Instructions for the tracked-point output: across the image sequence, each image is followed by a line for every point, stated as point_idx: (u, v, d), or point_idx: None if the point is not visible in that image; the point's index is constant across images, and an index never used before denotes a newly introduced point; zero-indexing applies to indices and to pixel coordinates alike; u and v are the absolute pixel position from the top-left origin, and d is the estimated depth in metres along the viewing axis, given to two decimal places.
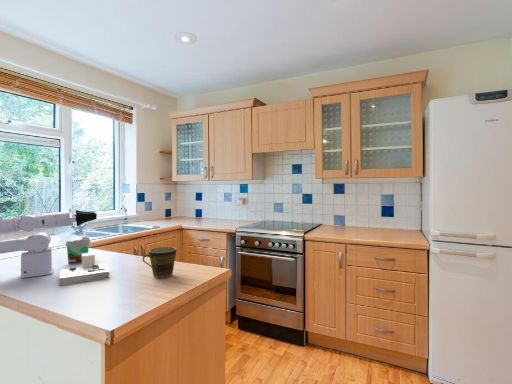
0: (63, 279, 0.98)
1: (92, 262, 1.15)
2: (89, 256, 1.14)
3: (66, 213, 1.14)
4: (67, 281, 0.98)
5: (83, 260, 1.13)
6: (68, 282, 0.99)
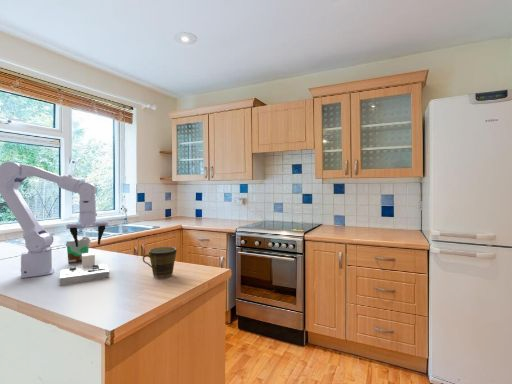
0: (63, 279, 0.98)
1: (92, 262, 1.15)
2: (89, 256, 1.14)
3: (83, 221, 1.13)
4: (67, 281, 0.98)
5: (83, 260, 1.13)
6: (68, 282, 0.99)
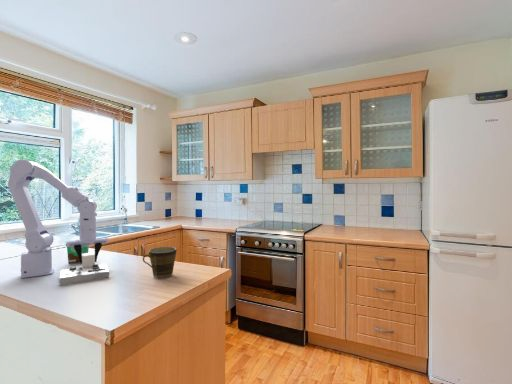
0: (63, 279, 0.98)
1: (92, 262, 1.15)
2: (89, 256, 1.14)
3: (83, 238, 1.13)
4: (67, 281, 0.98)
5: (83, 260, 1.13)
6: (68, 282, 0.99)
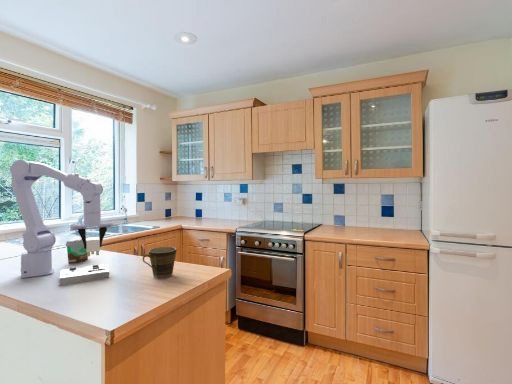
0: (63, 279, 0.98)
1: (97, 246, 1.10)
2: (94, 240, 1.10)
3: (87, 222, 1.09)
4: (67, 281, 0.98)
5: (87, 244, 1.08)
6: (68, 282, 0.99)
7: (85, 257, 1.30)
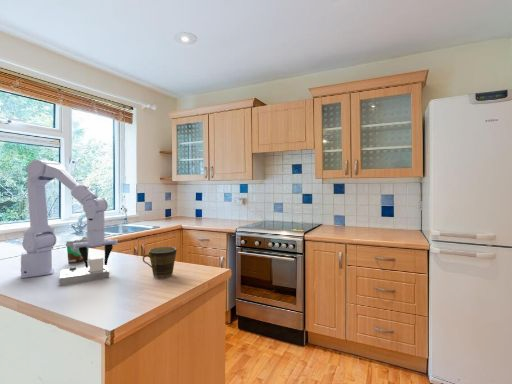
0: (63, 279, 0.98)
1: (100, 265, 1.06)
2: (97, 259, 1.06)
3: (91, 240, 1.05)
4: (67, 281, 0.98)
5: (91, 264, 1.05)
6: (68, 282, 0.99)
7: None
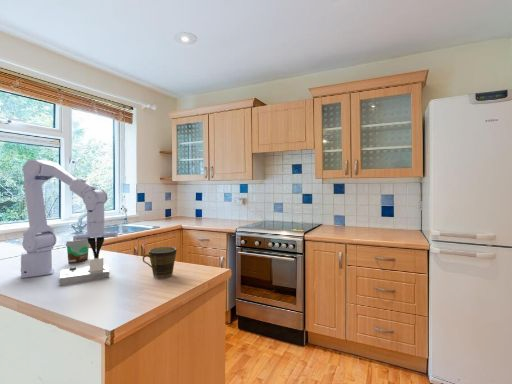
0: (63, 279, 0.98)
1: (100, 266, 1.06)
2: (97, 259, 1.06)
3: (91, 231, 1.05)
4: (67, 281, 0.98)
5: (91, 264, 1.05)
6: (68, 282, 0.99)
7: (85, 257, 1.30)
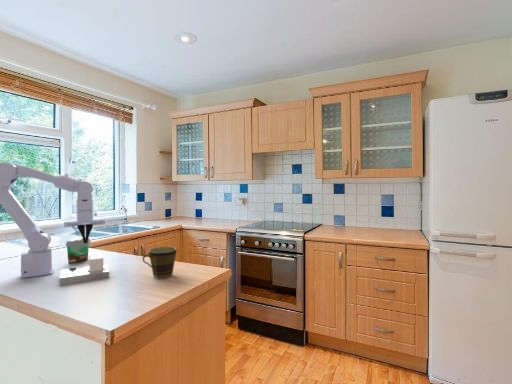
0: (63, 279, 0.98)
1: (100, 265, 1.06)
2: (97, 259, 1.06)
3: (80, 219, 1.16)
4: (67, 281, 0.98)
5: (91, 264, 1.05)
6: (68, 282, 0.99)
7: (85, 257, 1.30)
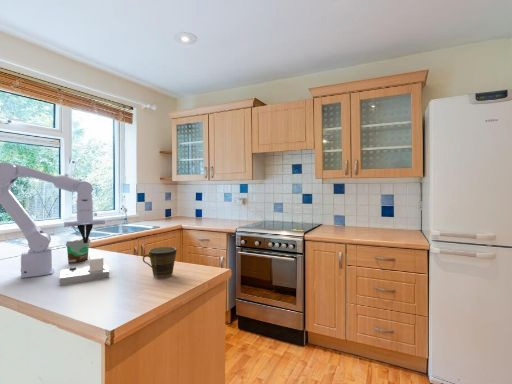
0: (63, 279, 0.98)
1: (100, 265, 1.06)
2: (97, 259, 1.06)
3: (80, 219, 1.16)
4: (67, 281, 0.98)
5: (91, 264, 1.05)
6: (68, 282, 0.99)
7: (85, 257, 1.30)
